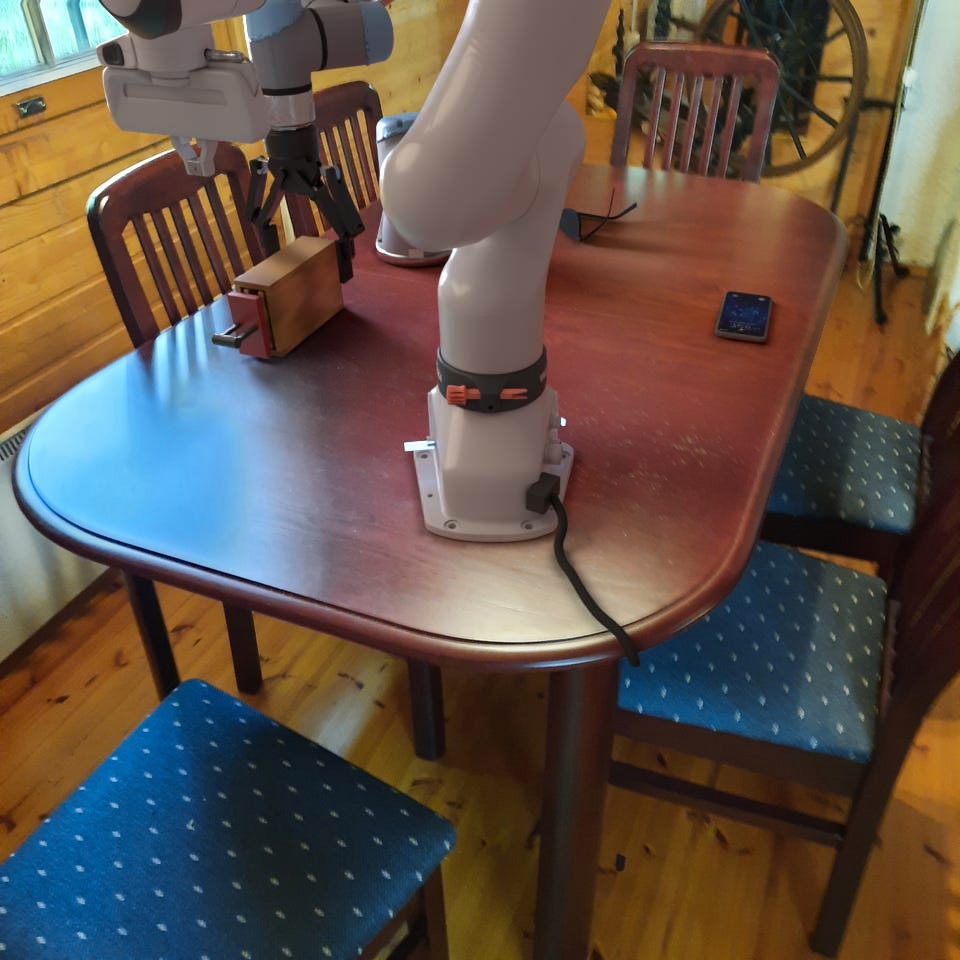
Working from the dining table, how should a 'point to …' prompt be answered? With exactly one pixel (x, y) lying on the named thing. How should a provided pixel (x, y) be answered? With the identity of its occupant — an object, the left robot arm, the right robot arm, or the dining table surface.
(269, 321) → the drawer
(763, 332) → the smartphone
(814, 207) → the dining table surface
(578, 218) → the sunglasses
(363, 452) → the dining table surface
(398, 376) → the dining table surface
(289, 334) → the cabinet
